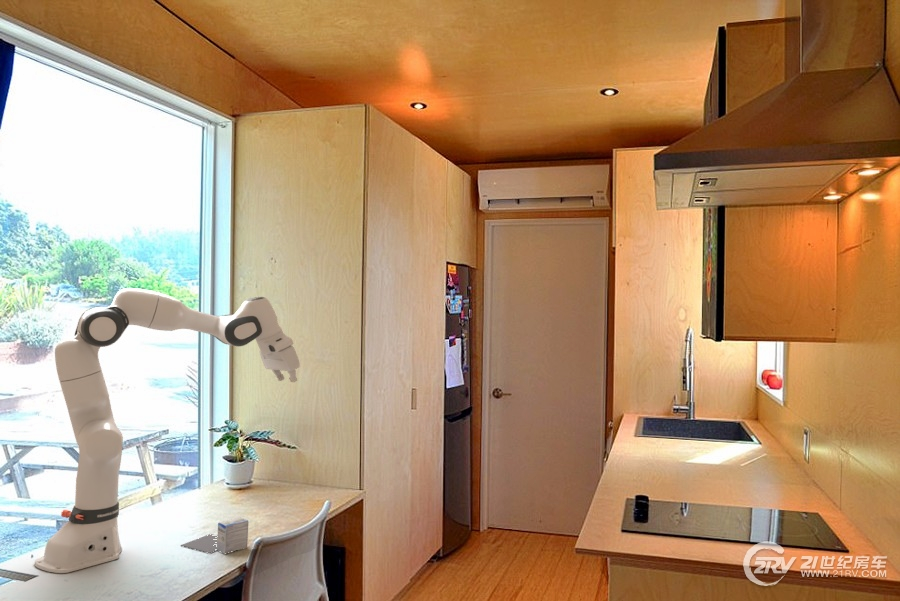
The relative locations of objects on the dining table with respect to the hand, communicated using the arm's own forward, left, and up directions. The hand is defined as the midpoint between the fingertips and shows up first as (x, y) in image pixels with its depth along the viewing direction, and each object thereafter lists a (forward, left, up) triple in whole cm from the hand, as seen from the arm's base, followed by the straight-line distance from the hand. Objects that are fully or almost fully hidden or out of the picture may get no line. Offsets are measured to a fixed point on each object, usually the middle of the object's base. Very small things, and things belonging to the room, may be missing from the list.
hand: (287, 380), depth 229 cm
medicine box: (-23, -1, -49) cm, 54 cm away
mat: (-23, +8, -49) cm, 55 cm away
